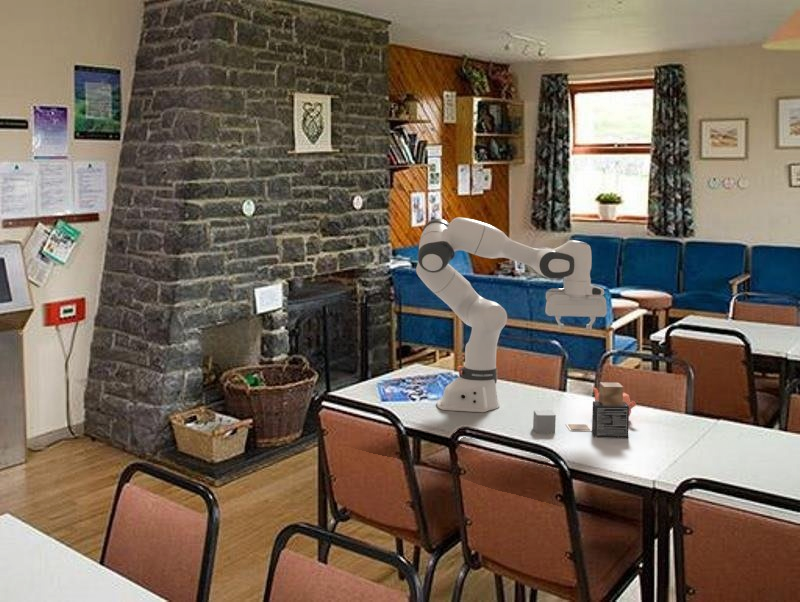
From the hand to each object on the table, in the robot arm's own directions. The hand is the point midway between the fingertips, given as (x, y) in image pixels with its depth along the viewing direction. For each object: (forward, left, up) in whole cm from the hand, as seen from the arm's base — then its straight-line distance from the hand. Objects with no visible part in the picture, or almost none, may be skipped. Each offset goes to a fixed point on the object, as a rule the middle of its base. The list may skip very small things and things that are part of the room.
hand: (574, 329), depth 272 cm
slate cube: (-12, -15, -31) cm, 36 cm away
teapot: (+14, 0, -31) cm, 34 cm away
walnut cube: (+8, -19, -21) cm, 29 cm away
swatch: (0, -12, -31) cm, 33 cm away
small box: (+8, -19, -31) cm, 38 cm away
